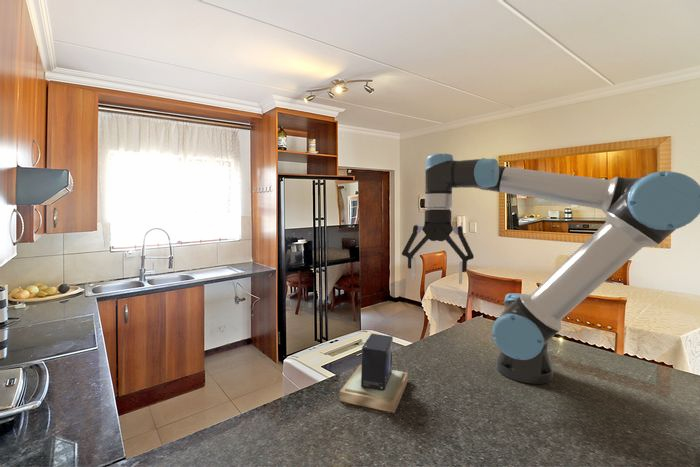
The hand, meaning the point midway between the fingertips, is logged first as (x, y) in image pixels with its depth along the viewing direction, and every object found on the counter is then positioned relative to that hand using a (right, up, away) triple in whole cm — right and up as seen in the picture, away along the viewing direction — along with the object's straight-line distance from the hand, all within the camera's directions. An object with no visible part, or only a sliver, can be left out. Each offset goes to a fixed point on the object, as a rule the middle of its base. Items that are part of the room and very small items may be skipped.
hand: (436, 281), depth 102 cm
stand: (-19, -28, -10) cm, 35 cm away
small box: (-18, -25, -11) cm, 32 cm away
